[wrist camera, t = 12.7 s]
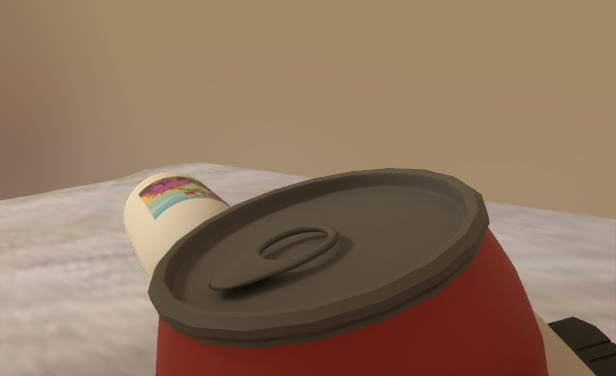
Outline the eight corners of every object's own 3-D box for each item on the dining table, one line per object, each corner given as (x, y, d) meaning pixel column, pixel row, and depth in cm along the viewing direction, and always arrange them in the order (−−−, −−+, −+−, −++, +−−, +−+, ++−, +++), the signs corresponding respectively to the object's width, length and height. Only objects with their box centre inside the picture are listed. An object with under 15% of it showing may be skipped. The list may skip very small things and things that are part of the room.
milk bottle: (192, 266, 52) (268, 374, 34) (108, 241, 49) (144, 346, 31) (225, 188, 52) (319, 255, 34) (143, 157, 49) (201, 213, 31)
